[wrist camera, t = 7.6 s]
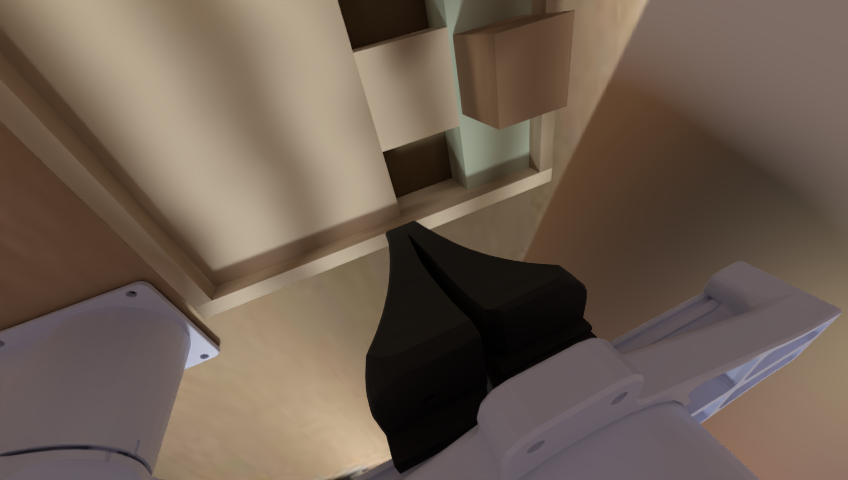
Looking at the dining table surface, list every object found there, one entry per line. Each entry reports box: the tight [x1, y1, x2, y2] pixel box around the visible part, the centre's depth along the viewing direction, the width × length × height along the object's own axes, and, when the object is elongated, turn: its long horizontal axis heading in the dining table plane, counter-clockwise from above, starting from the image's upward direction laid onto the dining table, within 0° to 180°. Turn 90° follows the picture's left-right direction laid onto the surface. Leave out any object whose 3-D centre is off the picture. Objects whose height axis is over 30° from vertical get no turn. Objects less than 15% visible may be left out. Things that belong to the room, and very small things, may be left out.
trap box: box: [0, 0, 563, 319], centre depth 16 cm, size 24×16×4 cm, turn 102°
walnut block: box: [453, 10, 574, 130], centre depth 16 cm, size 4×4×4 cm
